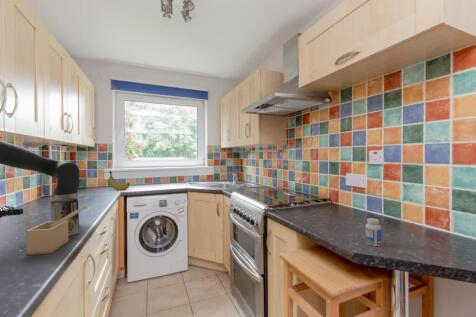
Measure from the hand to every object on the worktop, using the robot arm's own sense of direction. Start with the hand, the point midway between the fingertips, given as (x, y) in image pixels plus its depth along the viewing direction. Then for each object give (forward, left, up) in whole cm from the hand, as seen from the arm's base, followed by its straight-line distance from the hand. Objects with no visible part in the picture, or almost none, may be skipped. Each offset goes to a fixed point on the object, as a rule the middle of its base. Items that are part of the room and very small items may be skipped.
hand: (21, 211), depth 84 cm
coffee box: (-10, +13, -15) cm, 22 cm away
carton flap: (+5, +11, -5) cm, 14 cm away
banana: (-138, +50, -15) cm, 148 cm away
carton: (+4, +8, -15) cm, 17 cm away
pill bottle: (+78, +114, -15) cm, 138 cm away
